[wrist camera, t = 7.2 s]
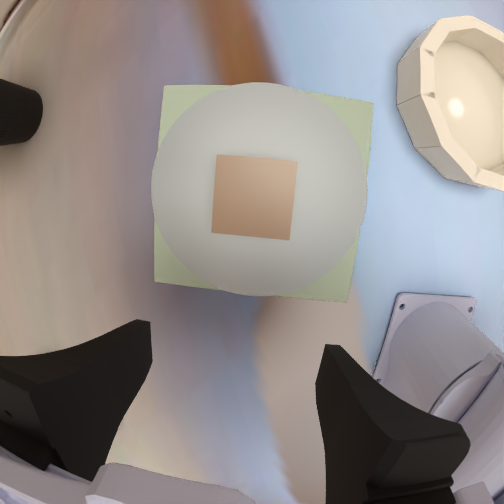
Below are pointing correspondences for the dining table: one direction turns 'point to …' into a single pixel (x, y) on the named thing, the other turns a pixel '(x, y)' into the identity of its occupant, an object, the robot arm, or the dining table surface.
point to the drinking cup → (18, 113)
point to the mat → (340, 276)
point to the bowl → (456, 99)
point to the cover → (259, 189)
